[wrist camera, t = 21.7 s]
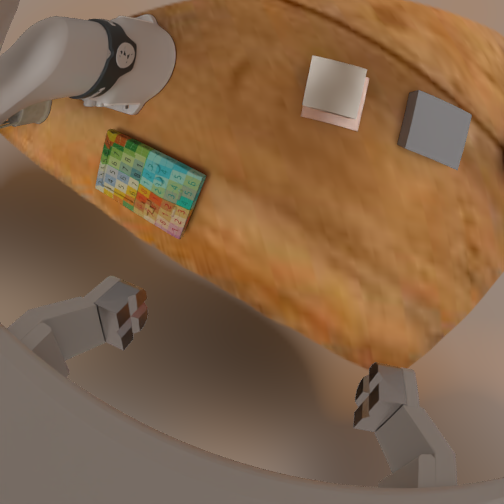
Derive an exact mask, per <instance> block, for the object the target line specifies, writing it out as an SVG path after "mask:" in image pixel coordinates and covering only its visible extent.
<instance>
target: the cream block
mask: <svg viewBox="0 0 504 504" xmlns="http://www.w3.org/2000/svg"><path fill="white" fill-rule="evenodd" d="M366 72H367V69H364V68H361V67H357V66H354V65H350V64H346V63H343V62H339V61H335V60H331V59H326V58H322V57H317V56H313V55H312V60H311V65H310V70H309V75H308V80H307V84H306V89H305V94H304V99H303V103H302V105H304V106H307V107H310V108H312V109H316V110H320V111H324V112H328V113H331V114H335V115H339V116H342V117H346V118H349V119H356V118H357V113H358V109H359V105H360V100H361V96H362V91H363V87H364V82H365V77H366Z"/></svg>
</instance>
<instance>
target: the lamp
mask: <svg viewBox="0 0 504 504" xmlns="http://www.w3.org/2000/svg"><path fill="white" fill-rule="evenodd" d="M51 103H52V100H48V101H43V102H39V103H36V104H33V105H30V106H28V107H26V108H24V109H22V110H20V111H19V112H17V113H16V114H14V115H13V116H11V117H10V118H8V121H5V122H3V123H2V124H6V123H10V124H6V125H3V126H0V128H4V127H8V126H11V125H12V126H14V127H16V126H20V125H25V124H30V123H37V124H40V123H42V122H43V121H45V119H46V118H47V116H48V115H49V113H50V108H51Z"/></svg>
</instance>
